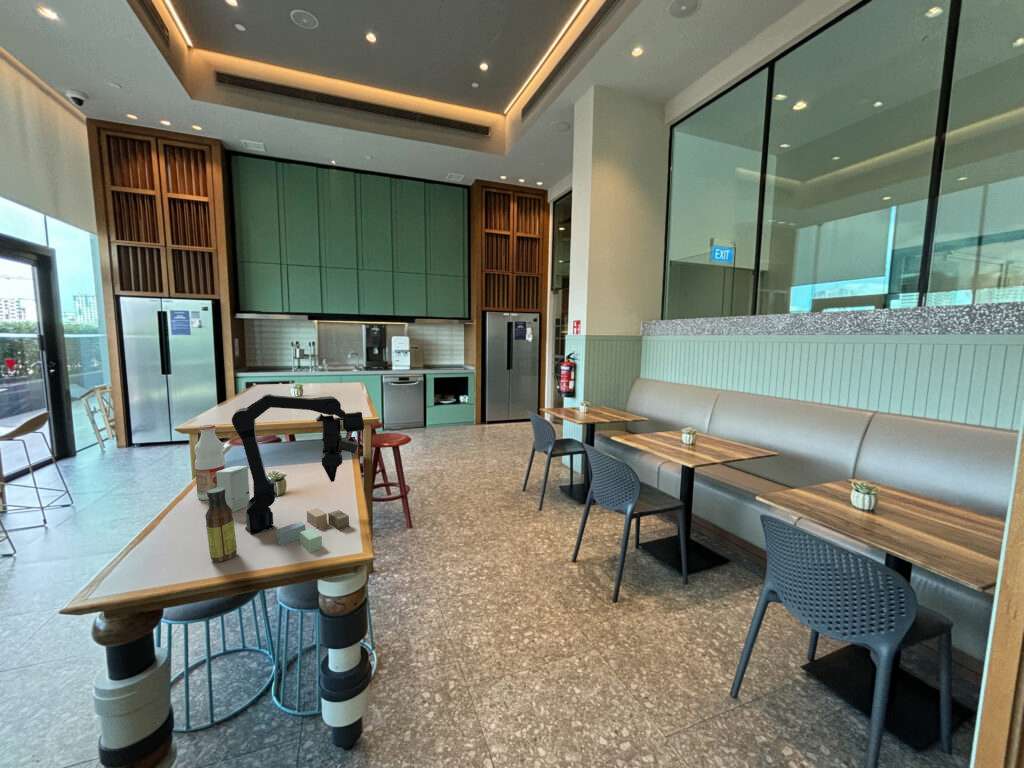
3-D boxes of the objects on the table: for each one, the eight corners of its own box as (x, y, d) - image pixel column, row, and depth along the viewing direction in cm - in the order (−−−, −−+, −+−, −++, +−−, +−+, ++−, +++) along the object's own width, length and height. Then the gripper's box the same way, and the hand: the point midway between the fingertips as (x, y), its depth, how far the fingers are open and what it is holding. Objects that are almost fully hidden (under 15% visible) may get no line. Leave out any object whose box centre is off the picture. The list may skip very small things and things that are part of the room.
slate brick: (281, 545, 122) (281, 532, 121) (277, 541, 124) (276, 529, 124) (305, 537, 127) (305, 524, 127) (300, 533, 129) (300, 521, 129)
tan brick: (327, 525, 135) (326, 513, 135) (316, 528, 133) (315, 517, 132) (317, 519, 140) (317, 507, 140) (307, 522, 137) (306, 511, 137)
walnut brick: (349, 527, 134) (348, 515, 133) (338, 531, 131) (338, 519, 131) (338, 521, 138) (338, 509, 138) (328, 524, 136) (328, 513, 135)
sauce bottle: (236, 549, 119) (232, 483, 117) (237, 558, 114) (233, 490, 112) (208, 556, 115) (203, 488, 113) (208, 566, 110) (203, 495, 108)
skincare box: (232, 513, 144) (229, 472, 142) (217, 512, 145) (214, 471, 143) (251, 504, 152) (248, 465, 150) (237, 503, 153) (234, 464, 151)
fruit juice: (202, 493, 163) (197, 424, 160) (230, 490, 166) (225, 422, 163) (193, 501, 154) (187, 429, 151) (222, 498, 157) (217, 427, 154)
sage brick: (322, 548, 120) (321, 535, 120) (309, 553, 118) (309, 539, 117) (312, 540, 125) (311, 528, 124) (300, 544, 122) (299, 532, 122)
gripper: (358, 437, 135) (359, 483, 137) (355, 426, 152) (355, 467, 154) (321, 440, 131) (322, 487, 132) (322, 428, 148) (323, 470, 149)
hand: (332, 477), depth 142 cm, fingers open, 9 cm apart
